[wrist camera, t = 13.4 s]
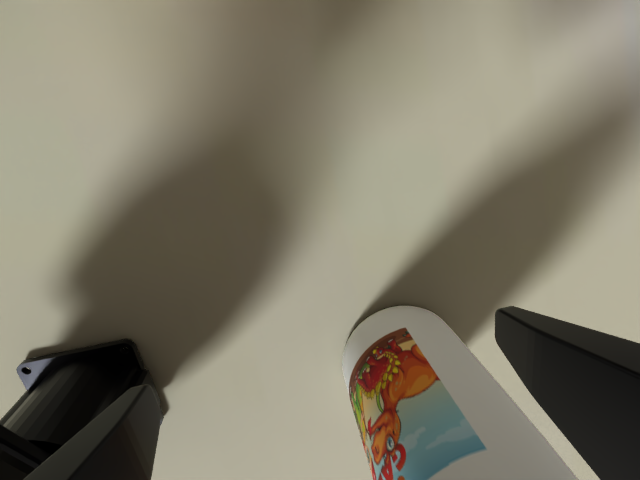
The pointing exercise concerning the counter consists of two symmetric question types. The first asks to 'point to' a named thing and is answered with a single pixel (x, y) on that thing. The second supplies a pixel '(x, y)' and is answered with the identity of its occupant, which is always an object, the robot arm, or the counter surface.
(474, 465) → the milk bottle
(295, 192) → the counter surface
